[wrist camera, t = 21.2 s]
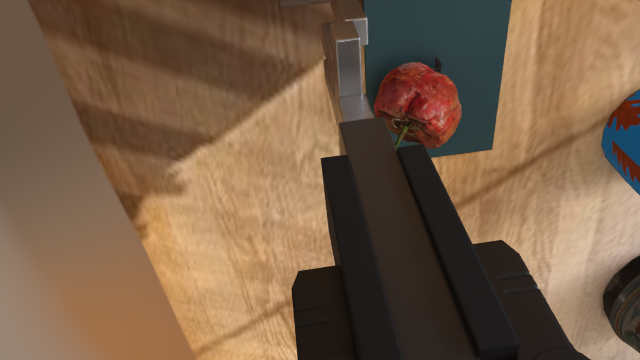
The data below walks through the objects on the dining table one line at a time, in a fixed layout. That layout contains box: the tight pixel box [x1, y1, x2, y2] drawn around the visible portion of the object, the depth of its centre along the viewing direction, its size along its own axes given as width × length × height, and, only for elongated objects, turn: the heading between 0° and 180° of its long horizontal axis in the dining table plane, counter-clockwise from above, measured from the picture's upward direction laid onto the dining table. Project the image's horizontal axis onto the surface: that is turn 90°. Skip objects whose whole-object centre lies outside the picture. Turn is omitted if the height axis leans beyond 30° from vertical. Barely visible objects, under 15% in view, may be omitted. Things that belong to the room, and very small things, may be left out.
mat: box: [363, 0, 512, 158], centre depth 47 cm, size 18×12×1 cm
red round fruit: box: [374, 56, 462, 149], centre depth 45 cm, size 7×7×10 cm
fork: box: [321, 0, 480, 360], centre depth 15 cm, size 6×2×20 cm, turn 5°
